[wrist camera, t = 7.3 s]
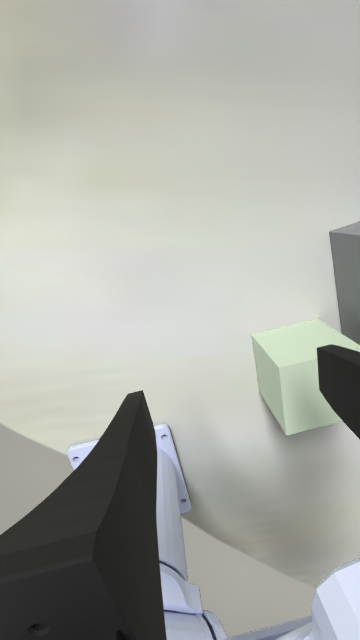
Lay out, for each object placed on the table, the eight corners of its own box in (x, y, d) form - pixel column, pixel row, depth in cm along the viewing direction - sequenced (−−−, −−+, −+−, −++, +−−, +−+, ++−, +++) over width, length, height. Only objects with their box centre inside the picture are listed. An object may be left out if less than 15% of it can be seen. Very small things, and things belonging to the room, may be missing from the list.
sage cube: (320, 376, 24) (362, 416, 19) (258, 391, 24) (286, 435, 19) (317, 318, 22) (362, 347, 18) (251, 334, 22) (278, 367, 17)
